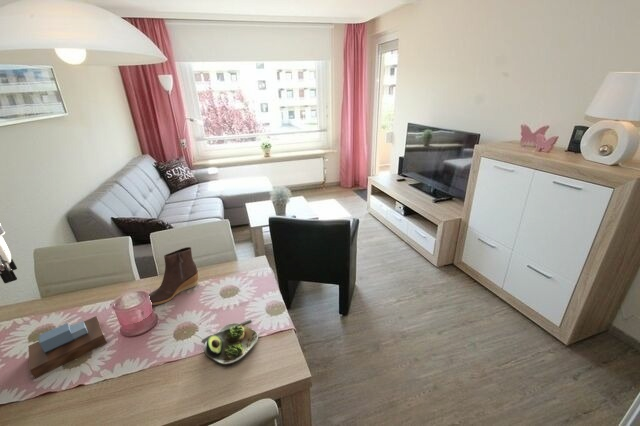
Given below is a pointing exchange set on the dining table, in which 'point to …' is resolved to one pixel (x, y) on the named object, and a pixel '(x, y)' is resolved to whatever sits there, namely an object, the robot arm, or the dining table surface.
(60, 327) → the stepped blue block
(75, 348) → the brown wooden block
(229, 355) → the salad plate
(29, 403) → the dining table surface
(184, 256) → the boot
